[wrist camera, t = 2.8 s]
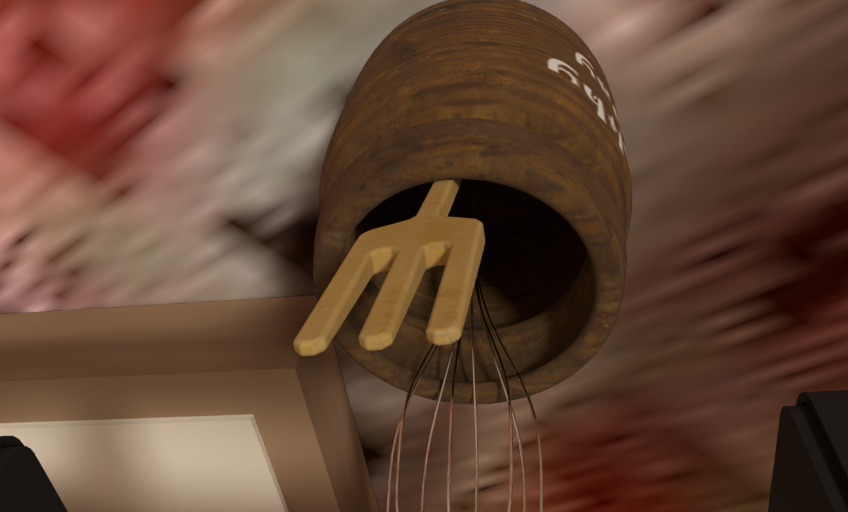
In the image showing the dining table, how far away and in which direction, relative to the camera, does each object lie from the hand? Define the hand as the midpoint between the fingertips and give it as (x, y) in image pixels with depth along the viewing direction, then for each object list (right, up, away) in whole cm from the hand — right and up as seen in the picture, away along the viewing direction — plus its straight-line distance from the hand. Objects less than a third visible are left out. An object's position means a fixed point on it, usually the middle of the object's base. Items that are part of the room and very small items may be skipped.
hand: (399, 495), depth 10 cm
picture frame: (-8, -3, +16) cm, 18 cm away
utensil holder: (+2, +7, +9) cm, 11 cm away
